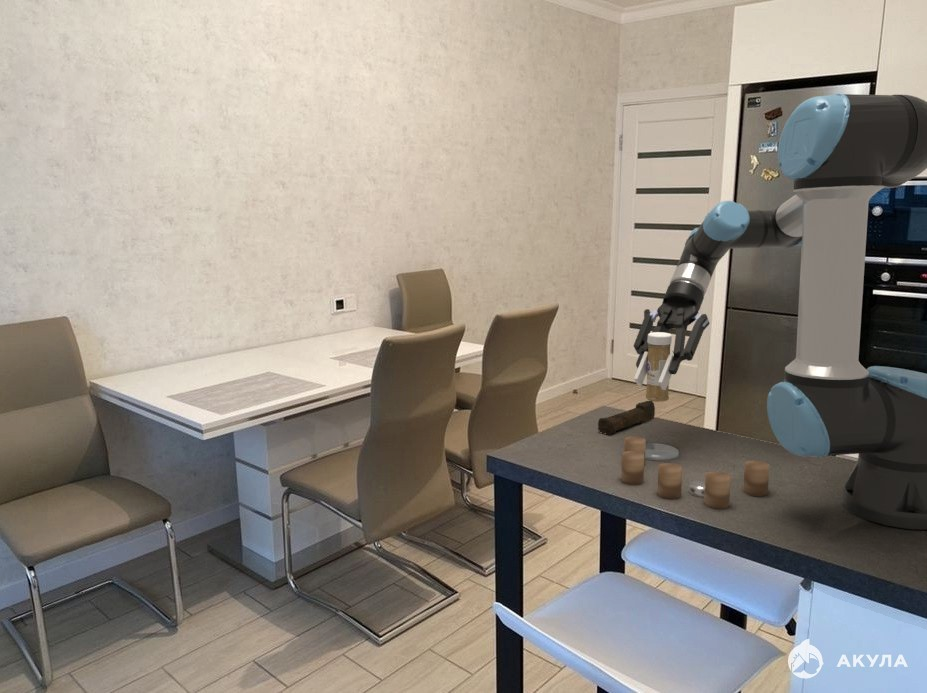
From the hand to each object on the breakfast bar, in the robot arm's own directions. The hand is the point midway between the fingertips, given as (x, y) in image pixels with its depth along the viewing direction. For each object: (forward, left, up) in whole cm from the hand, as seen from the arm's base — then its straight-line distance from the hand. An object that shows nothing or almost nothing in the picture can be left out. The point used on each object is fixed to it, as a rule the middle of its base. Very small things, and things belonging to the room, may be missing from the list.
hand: (649, 383), depth 138 cm
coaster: (+1, -4, -15) cm, 16 cm away
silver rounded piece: (-18, +5, -16) cm, 24 cm away
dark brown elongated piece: (+18, -12, -16) cm, 27 cm away
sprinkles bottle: (+1, -4, -4) cm, 6 cm away
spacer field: (-12, +4, -15) cm, 20 cm away
